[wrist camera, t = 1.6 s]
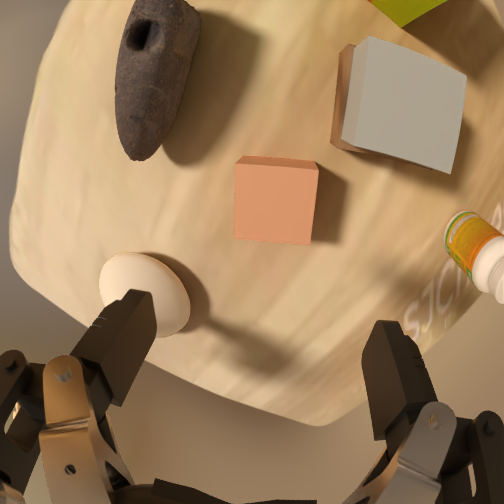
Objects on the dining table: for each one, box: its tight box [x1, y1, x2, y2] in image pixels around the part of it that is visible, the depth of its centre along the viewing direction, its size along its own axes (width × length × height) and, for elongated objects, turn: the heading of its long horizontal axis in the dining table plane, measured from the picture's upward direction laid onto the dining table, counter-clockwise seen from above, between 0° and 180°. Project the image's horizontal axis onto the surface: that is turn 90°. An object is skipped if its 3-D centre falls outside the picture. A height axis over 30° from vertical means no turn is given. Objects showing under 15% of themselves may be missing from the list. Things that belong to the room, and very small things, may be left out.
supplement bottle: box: [444, 210, 504, 304], centre depth 19 cm, size 5×5×10 cm
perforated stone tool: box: [115, 0, 202, 161], centre depth 17 cm, size 15×5×7 cm, turn 165°
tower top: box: [341, 36, 467, 174], centre depth 15 cm, size 7×7×4 cm
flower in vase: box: [13, 253, 191, 418], centre depth 21 cm, size 13×11×25 cm
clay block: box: [234, 156, 319, 245], centre depth 23 cm, size 6×6×4 cm
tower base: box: [330, 44, 433, 170], centre depth 18 cm, size 8×8×4 cm
